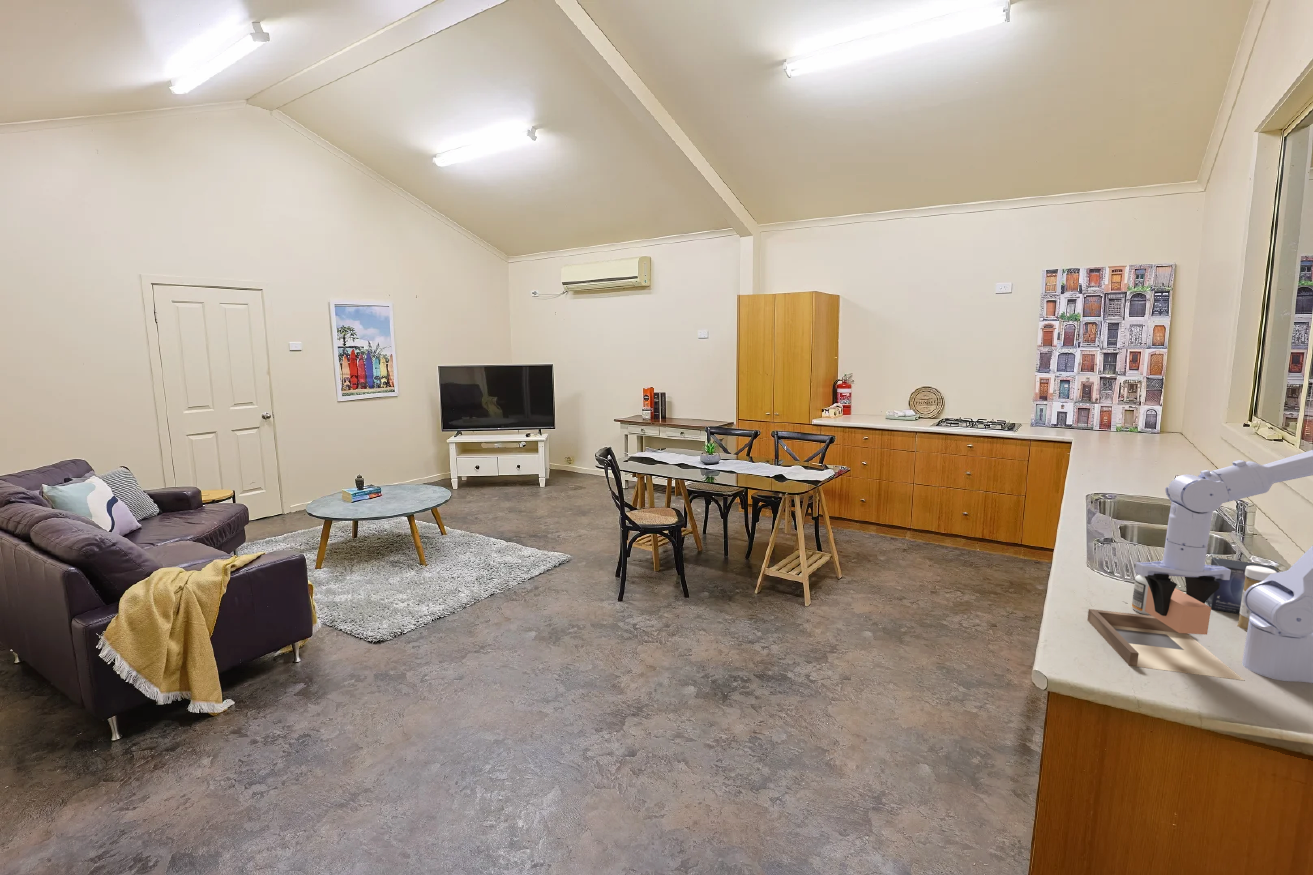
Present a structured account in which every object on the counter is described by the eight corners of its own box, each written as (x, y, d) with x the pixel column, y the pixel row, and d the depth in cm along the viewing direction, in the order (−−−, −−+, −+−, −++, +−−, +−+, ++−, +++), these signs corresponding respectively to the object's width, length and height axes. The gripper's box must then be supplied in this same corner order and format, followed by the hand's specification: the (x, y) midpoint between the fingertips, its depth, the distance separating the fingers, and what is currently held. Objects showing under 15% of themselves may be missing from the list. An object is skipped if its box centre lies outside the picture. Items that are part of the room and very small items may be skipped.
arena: (1184, 635, 124) (1186, 619, 123) (1244, 685, 106) (1247, 666, 105) (1086, 624, 128) (1088, 608, 128) (1128, 670, 110) (1130, 652, 110)
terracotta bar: (1144, 611, 117) (1148, 586, 116) (1170, 612, 117) (1174, 587, 116) (1179, 632, 108) (1183, 605, 108) (1207, 634, 108) (1211, 607, 107)
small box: (1210, 610, 136) (1217, 564, 135) (1203, 599, 142) (1210, 556, 140) (1276, 621, 131) (1284, 574, 129) (1265, 610, 137) (1273, 565, 135)
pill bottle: (1165, 611, 135) (1171, 568, 134) (1162, 619, 131) (1169, 575, 130) (1132, 603, 139) (1138, 561, 138) (1129, 611, 135) (1135, 568, 134)
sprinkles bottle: (1271, 634, 125) (1282, 570, 123) (1260, 638, 123) (1270, 574, 121) (1242, 624, 129) (1252, 563, 127) (1231, 628, 127) (1241, 566, 125)
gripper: (1213, 537, 113) (1202, 607, 115) (1128, 533, 115) (1119, 602, 117) (1244, 549, 106) (1232, 624, 109) (1154, 546, 108) (1144, 619, 110)
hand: (1175, 614), depth 112 cm, fingers closed on terracotta bar, 4 cm apart
